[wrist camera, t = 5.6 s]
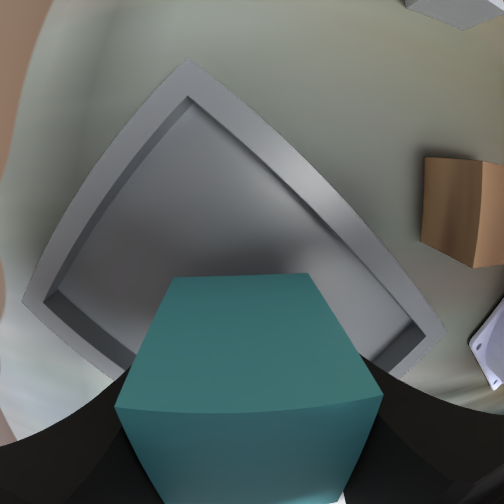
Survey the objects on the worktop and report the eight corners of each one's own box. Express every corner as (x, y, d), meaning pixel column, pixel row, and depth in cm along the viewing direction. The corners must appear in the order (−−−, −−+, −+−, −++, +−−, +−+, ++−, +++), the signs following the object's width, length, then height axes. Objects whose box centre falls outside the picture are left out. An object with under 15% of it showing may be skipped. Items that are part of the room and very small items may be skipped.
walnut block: (477, 165, 12) (532, 173, 8) (472, 238, 13) (523, 261, 9) (423, 157, 11) (482, 161, 8) (419, 240, 13) (472, 268, 9)
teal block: (307, 272, 10) (383, 394, 4) (300, 375, 11) (337, 501, 6) (173, 277, 10) (114, 406, 4) (188, 380, 11) (168, 510, 5)
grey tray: (427, 313, 14) (447, 330, 12) (272, 441, 16) (276, 465, 14) (194, 73, 10) (187, 57, 8) (42, 284, 12) (21, 301, 10)
